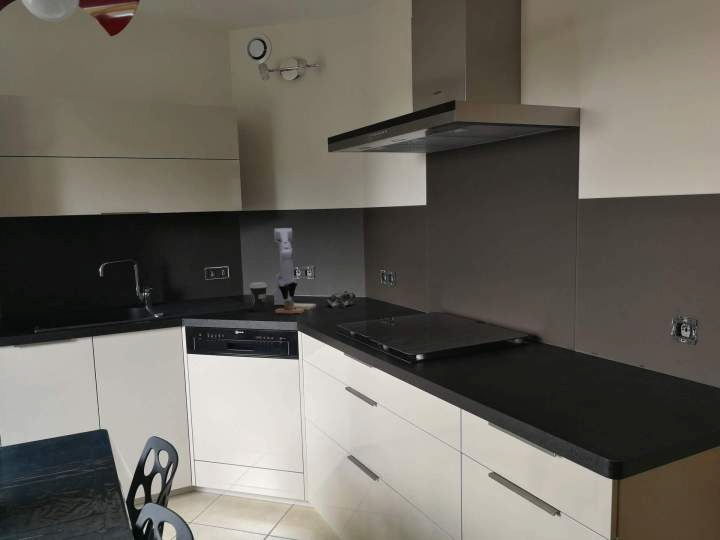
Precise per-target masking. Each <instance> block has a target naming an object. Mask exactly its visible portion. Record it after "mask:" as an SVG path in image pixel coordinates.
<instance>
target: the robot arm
mask: <svg viewBox="0 0 720 540" xmlns="http://www.w3.org/2000/svg"><path fill="white" fill-rule="evenodd" d="M273 235H274V242H275V243H277V244H278V247H279V267H280V271H279V272H278V273H277V274H276V275H275V287H276V288H275V289H274V292H273V297H274V298H273V299H274V300H273V302H274V304H273V305H278V306H279V305H280V306H284V301H293V300H292V299H293V298H294V297H295V292H296V288H297V286H298V282H297V281H296V278H294V262H293V260H294V257H295V256H294V250H293V248H292V244H291V242H292V240H293V229H292V227H290V228H289V227H284V228H283V227H282V228H281V227H279V228H277V227H275V228H274V229H273ZM294 303H296V302H295V301H294Z"/></svg>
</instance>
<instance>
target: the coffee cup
mask: <svg viewBox="0 0 720 540" xmlns="http://www.w3.org/2000/svg"><path fill="white" fill-rule="evenodd" d="M267 287H268V285H267V283H266V282H265V281H259V282H258V281H257V282H250V285H249V287H248V288H250V289H249V291H250V297H251V305H252V312H254V311H256V312H255V313H257V312H258V313H260V312H261V311H262V312H265V311H266V309H267V308H266V305H267Z"/></svg>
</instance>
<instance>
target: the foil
mask: <svg viewBox="0 0 720 540" xmlns="http://www.w3.org/2000/svg"><path fill="white" fill-rule="evenodd" d="M336 295H337V296H338V295H339V297H337V296H336ZM353 299H356V294H355V293H354V292H350V293H349V291H347V290H345V291H343V292H339V293H334V294H331V296H330V297H328V298H327V299H326V300H325V301H326V303H327V306H328V307H331V308H333V307H341V308H345V307H346V306H351V305H353V304H354V303H353Z"/></svg>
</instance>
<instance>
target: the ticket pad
mask: <svg viewBox="0 0 720 540" xmlns="http://www.w3.org/2000/svg"><path fill="white" fill-rule="evenodd" d="M315 306H316V307H317V304H316V303H300V302H299V303H296V302H295V303H294V308H296V309H304V310H309V309H310V310H312V309H314V308H316V307H315ZM313 307H314V308H313ZM311 308H312V309H311Z"/></svg>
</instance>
